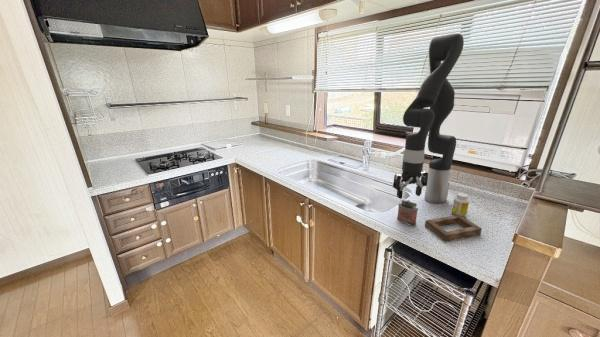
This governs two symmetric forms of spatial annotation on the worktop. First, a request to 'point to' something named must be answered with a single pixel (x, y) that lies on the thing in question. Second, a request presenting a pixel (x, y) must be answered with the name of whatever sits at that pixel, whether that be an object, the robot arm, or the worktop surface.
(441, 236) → the slot block
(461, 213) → the supplement bottle
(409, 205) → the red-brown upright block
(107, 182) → the worktop surface
